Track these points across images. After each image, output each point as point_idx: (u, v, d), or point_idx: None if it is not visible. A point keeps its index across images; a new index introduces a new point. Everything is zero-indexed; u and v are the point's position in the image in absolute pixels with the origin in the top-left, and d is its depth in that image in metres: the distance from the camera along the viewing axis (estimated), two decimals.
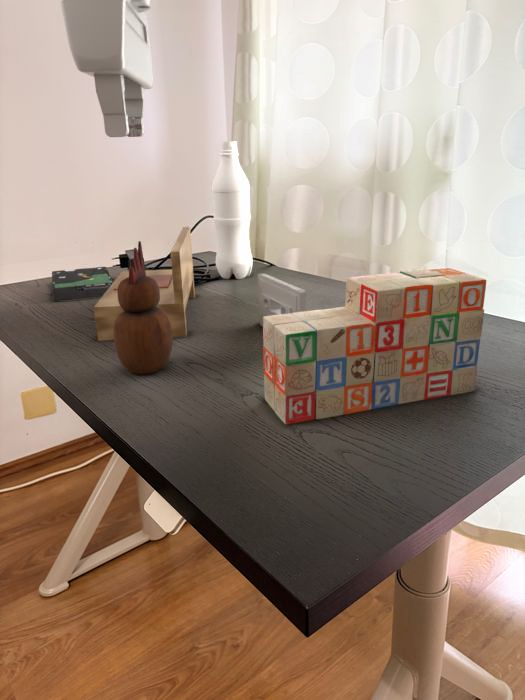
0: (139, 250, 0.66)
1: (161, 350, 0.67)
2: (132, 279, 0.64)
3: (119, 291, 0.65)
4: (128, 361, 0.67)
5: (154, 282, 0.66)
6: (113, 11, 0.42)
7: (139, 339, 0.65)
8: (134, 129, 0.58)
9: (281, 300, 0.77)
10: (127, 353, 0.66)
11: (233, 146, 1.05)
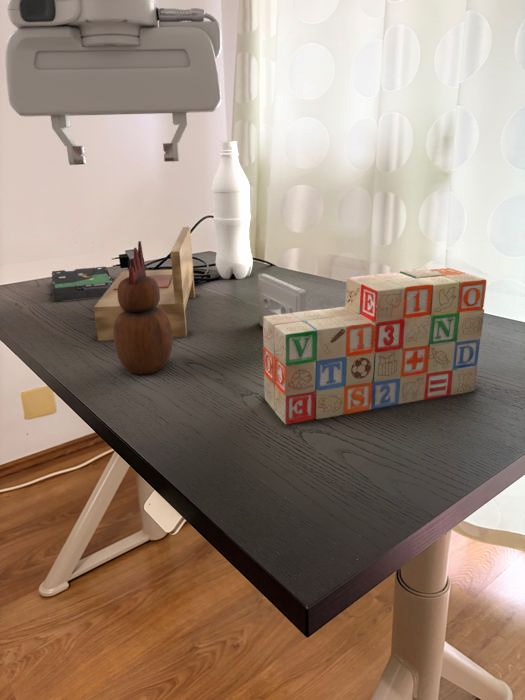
0: (139, 250, 0.66)
1: (161, 350, 0.67)
2: (132, 279, 0.64)
3: (119, 291, 0.65)
4: (128, 361, 0.67)
5: (154, 282, 0.66)
6: None
7: (139, 339, 0.65)
8: None
9: (281, 300, 0.77)
10: (127, 353, 0.66)
11: (233, 146, 1.05)
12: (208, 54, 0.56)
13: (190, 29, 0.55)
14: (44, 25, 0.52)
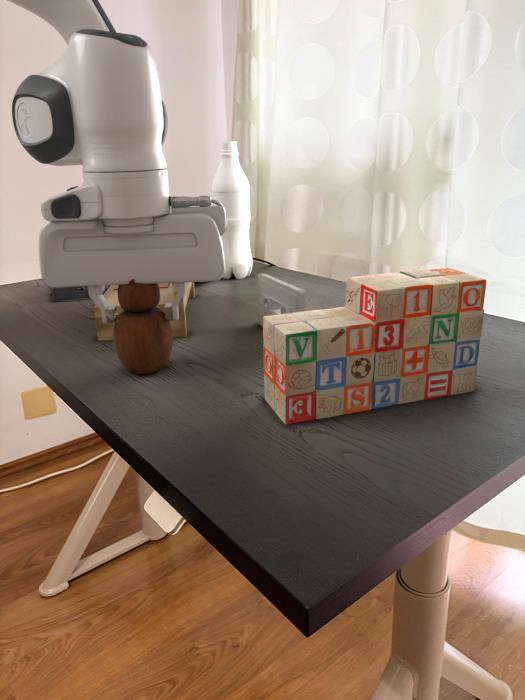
0: None
1: (161, 350, 0.67)
2: (132, 279, 0.64)
3: (119, 291, 0.65)
4: (128, 361, 0.67)
5: None
6: None
7: (139, 339, 0.65)
8: (166, 314, 0.68)
9: (281, 300, 0.77)
10: (127, 353, 0.66)
11: (233, 146, 1.05)
12: (213, 236, 0.63)
13: (198, 217, 0.62)
14: (71, 220, 0.61)
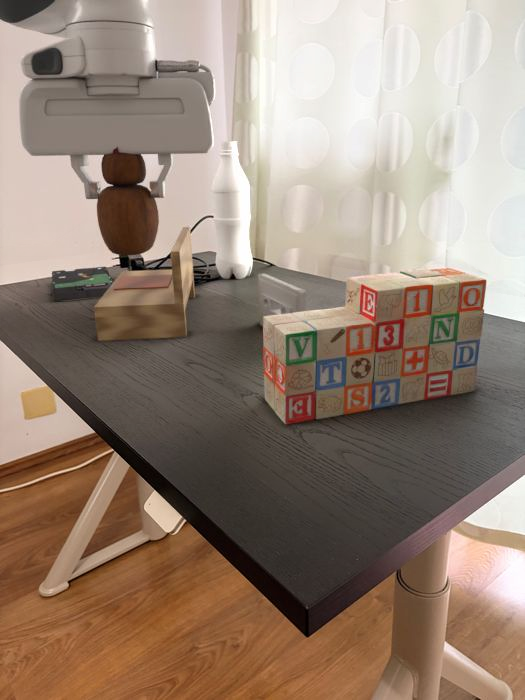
0: None
1: (146, 228, 0.65)
2: (116, 148, 0.62)
3: (103, 161, 0.62)
4: (111, 238, 0.64)
5: (140, 155, 0.63)
6: None
7: (123, 212, 0.63)
8: None
9: (281, 300, 0.77)
10: (110, 228, 0.63)
11: (233, 146, 1.05)
12: (201, 102, 0.61)
13: (185, 80, 0.60)
14: (53, 77, 0.58)
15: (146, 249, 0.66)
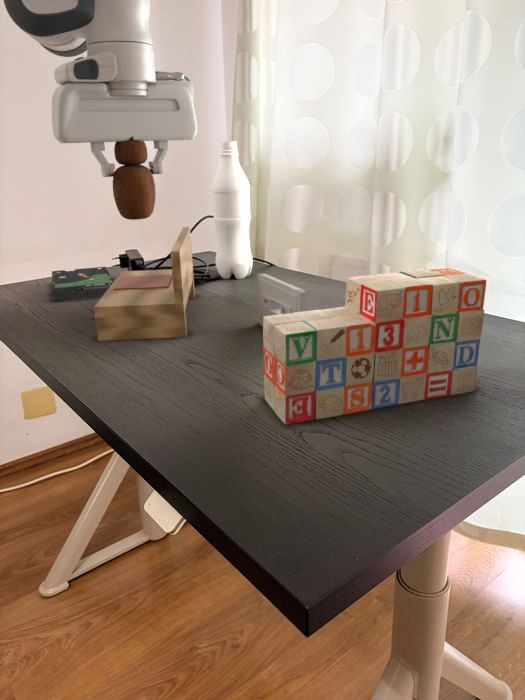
0: None
1: (153, 197, 0.86)
2: (132, 136, 0.82)
3: (121, 147, 0.81)
4: (132, 205, 0.83)
5: None
6: (57, 112, 0.76)
7: (142, 184, 0.83)
8: (151, 169, 0.86)
9: (281, 300, 0.77)
10: (132, 197, 0.83)
11: (233, 146, 1.05)
12: (190, 102, 0.84)
13: (179, 86, 0.83)
14: (89, 81, 0.76)
15: None
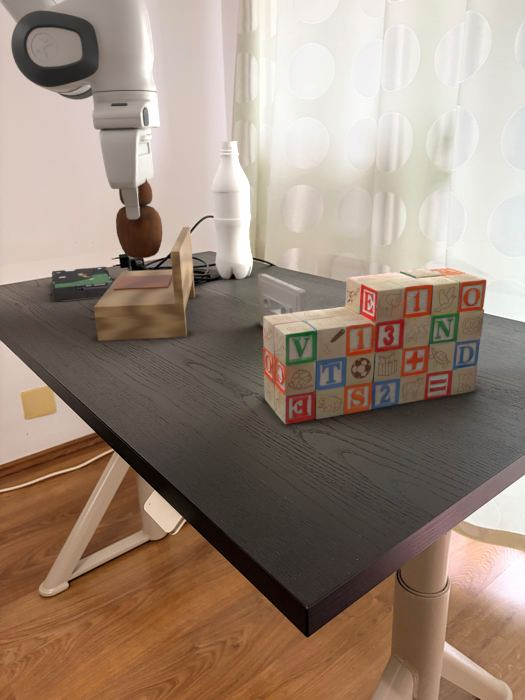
0: None
1: None
2: (146, 178, 0.85)
3: (143, 188, 0.84)
4: (157, 243, 0.87)
5: None
6: (131, 158, 0.75)
7: None
8: None
9: (281, 300, 0.77)
10: (158, 235, 0.87)
11: (233, 146, 1.05)
12: None
13: None
14: (144, 128, 0.78)
15: None
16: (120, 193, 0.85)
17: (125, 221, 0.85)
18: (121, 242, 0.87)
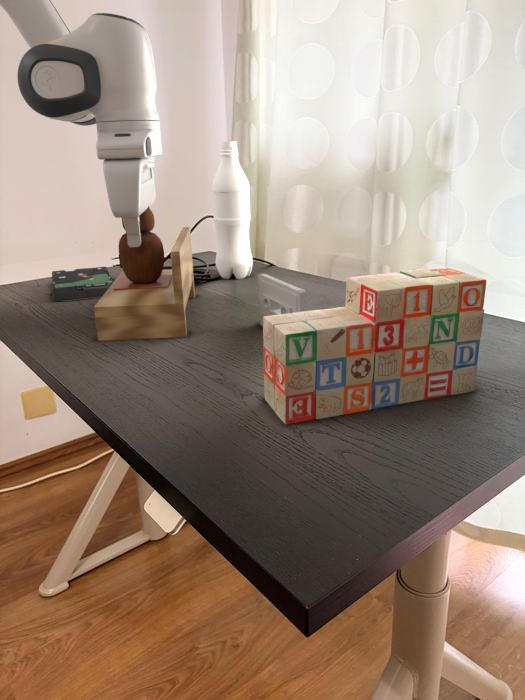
0: None
1: None
2: None
3: (145, 216, 0.85)
4: (159, 268, 0.89)
5: None
6: (134, 188, 0.76)
7: None
8: None
9: (281, 300, 0.77)
10: (160, 261, 0.88)
11: (233, 146, 1.05)
12: None
13: None
14: (147, 157, 0.79)
15: None
16: None
17: (127, 247, 0.86)
18: (124, 268, 0.88)
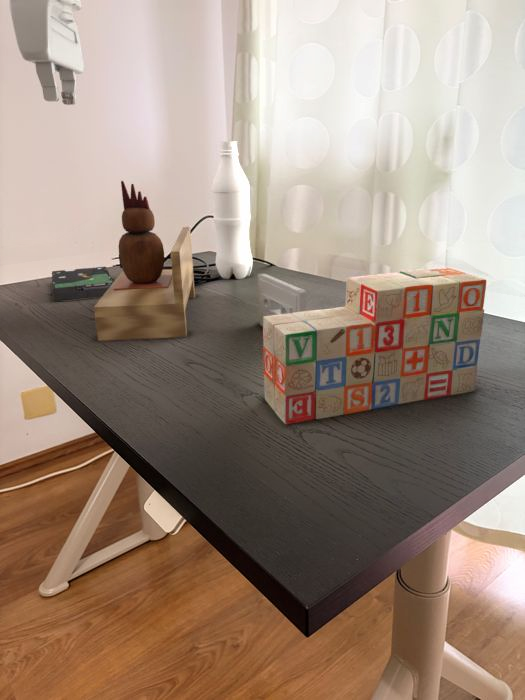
0: (125, 187, 0.86)
1: None
2: (148, 205, 0.86)
3: (145, 216, 0.85)
4: (159, 268, 0.89)
5: None
6: (42, 25, 0.73)
7: None
8: (68, 99, 0.88)
9: (281, 300, 0.77)
10: (160, 261, 0.88)
11: (233, 146, 1.05)
12: (79, 37, 0.90)
13: (74, 20, 0.88)
14: None
15: None
16: (123, 220, 0.86)
17: (127, 247, 0.86)
18: (124, 268, 0.88)
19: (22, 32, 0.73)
